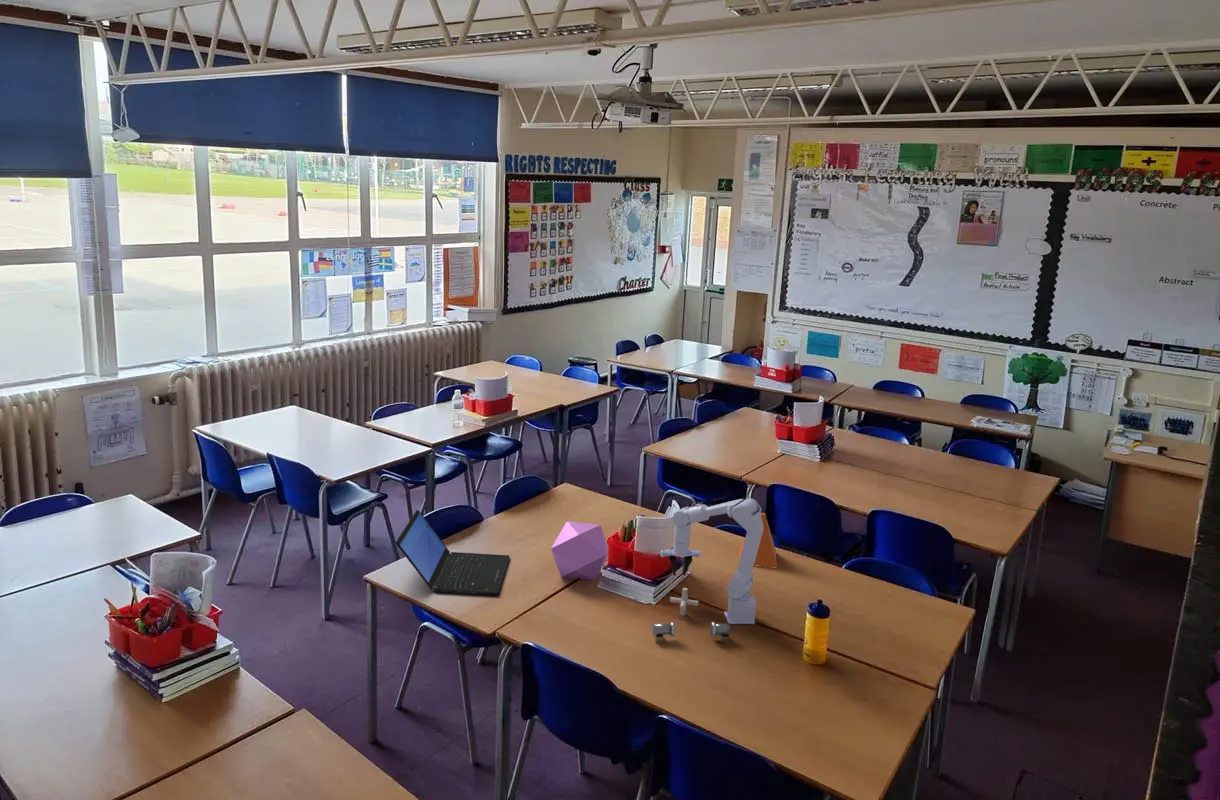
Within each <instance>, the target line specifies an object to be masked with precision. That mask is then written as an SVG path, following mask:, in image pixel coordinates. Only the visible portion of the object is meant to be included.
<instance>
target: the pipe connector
mask: <svg viewBox="0 0 1220 800" xmlns="http://www.w3.org/2000/svg"><path fill="white" fill-rule="evenodd" d="M688 590H689V589H688V588H687V587H683V588H682V590H681V597H680V598H679V597H674V596H670V597H669V603H673V604H680V605H679V610H680V616H683V617H684V616H686V613H687V612H686V611H687V606H694V607H698V606H699V600H693V599H689V594H688V592H689V591H688Z"/></svg>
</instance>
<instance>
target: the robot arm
mask: <svg viewBox="0 0 1220 800" xmlns="http://www.w3.org/2000/svg"><path fill="white" fill-rule="evenodd" d="M761 513H762V507H761V506H760V504H759V503H758V501H757V500H756V499H754V498H752V497H749V498H745V499H744V498H739V499H735V500H731V501H726V502H722V503H719V504H715V505H711V506H708V505H706V504H701V503H697V504H695V506H686V507H682V508H680V509H679V510H677V511H675V512H674V513H673V515H672V520H673V524H674V532H673V533H674V535H673V546H672V547H673V548H669V549H661V550H660V557H661V558H664V557H668V558H669V561H670V565H671V568H672V569H671V571H672V574H673V576H674V577H675V576H676V575H677V574H676V573H677V562H678V561H677V560H678V559H677V557H679V558H683V565H682V572H681V573H682V575H683V577H684V576H686V575H687V571H688V569H689V567H690V565H691V564H692V562H693V557H696V558H701V554H702V552H701V551H700V550H699V549H698V550H695V549H691V548H690V541H691V540H690V538H691V527H692V524H695V523H699V522H700V523H701V522H705V521H708V520H709V519H710V517H712V516H719V515H725V514H727V516H728V517H729V518H733V520H734V521H735V522H736V523H737V524H738V525H739V526H741V527H742V528H743V529H744V530H745V531H746V534H745V537H744V539H745V541H744V540H743V541H744V545H743V549H742V552H741V556H740V560H739V559H738V560H739V564H738V563H737V567H736V568H737V569H736V571H735V573H734V574H733V576H732V578H731V582H729V583H728V585H727V587H726V592H727V595H728V602H727V611H724V612H723V614H724V617H725V618H726V620H727V624H730V625H755V623H756V621H755V620H756V610H757V599H756V596H755V595H753V594H751V593H750V591H751V590H753V588H754V587H755V585H754V584H755V583H754V573H753V570H754V567H755V566H754V563H755V559H756V555H757V552H758V548H759V544H760V541H761V537H762V533H763V529H764V527H763V522H762V518H761Z"/></svg>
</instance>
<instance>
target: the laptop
mask: <svg viewBox="0 0 1220 800" xmlns="http://www.w3.org/2000/svg"><path fill="white" fill-rule="evenodd" d="M395 545H396V546H397V548H399V550H400V551H401V552H402V554H403V555H404V556H405V558H406V559H407V561H408V562H409V563H410V564H411V566H412V567H413V568H414V569H415V570H416V572H417V573H418V575H419V576H420V577H421V578H422V580H423V581H424V582H425V584H426V585H427V586H428V588H429V589H430V590H433V591H434V592H439V593H453V594H454V593H455V594H471V595H492V596H497V595H499V594H500V590H501V587H502V584H503V582H504V578H505V575H506V571H507V569H508V568H507V567H508V565H509V562H510V559H511V558H510V555H509V554H491V553H479V552H478V553H475V552H459V551H458V552H457V551H456V552H455V551H450V550H449V549H448V547H447V546H446V544H445V543H444V542H443V541H442V539H441V538H440V536H439V535H438V534H437V532H436V531H435V529H434V528H433V527H432V526H431V524H430V523H429V521H428V520H427V519H426V518H425V517H424V515H423V514H422V512H421V511H419V510H418V509H416V510H415V512H414V513H413V515H412V516H411V518H410V519H409V521H408V523H407V524H406V526H405V527H404V529H403V530H402V532H401V533H400V536H399V537H397V539H396V542H395Z"/></svg>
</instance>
